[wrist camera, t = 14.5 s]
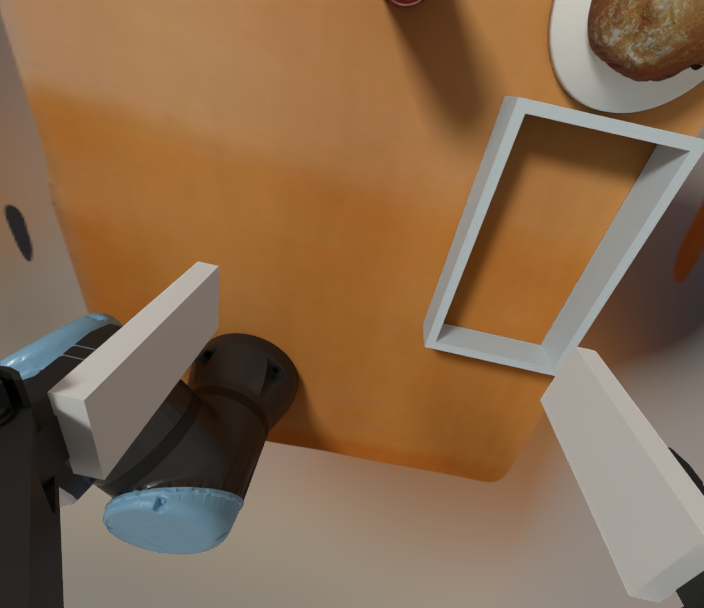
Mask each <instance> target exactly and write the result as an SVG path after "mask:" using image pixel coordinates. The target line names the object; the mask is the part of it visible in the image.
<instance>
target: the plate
mask: <svg viewBox="0 0 704 608" xmlns="http://www.w3.org/2000/svg"><path fill="white" fill-rule="evenodd" d="M591 1H592V0H553V1H552V5H551V10H550V15H549V22H548V51H549V58H550V61H551V65H552V69H553V71H554V73H555V75H556V78H557V80H558V81H559V83H560V84H561V86H562V87H563V89H564V90H565V91H566V92H567V93H568V94H569V95H570V96H571V97H572V98H573V99H575V100H576V101H577V102H579V103H581V104H583V105H584V106H586V107H589V108H592V109H595V110H598V111H605V112H612V113H631V112H639V111H643V110H647V109H651V108H654V107H657V106H660V105H662V104H665V103H667V102H669V101H671V100H673V99H675V98H677V97H679V96H681V95H683V94H684V93H686V92H687V91H689V90H691V89H692V88H694V87H695V86H696V85H698V84H699V83H700V82H701V81H703V80H704V66H703V67H702V68H700V69H699V70H693V69H691V67H690V68H687V69H685V70H683V71H682V72H680V73H679V74H677V75H675V76H674V77H672V78H668V79H665V80H663V81H659V82H657V81H651V80H649V81H646V82H645V81H641V82H637V81H634V80H632V79H630V78H628V77H625V76H623V75H621V74H620V73H618V72H616V71H615V70H613V69H612V68H610V67H609V66H608V65H607V64H606V63H605V62H604V61H601V59H600V58H599V57H598V56H596V55H595V54H594V52H593V51H592V49H591V47H590V44H589V38H588V29H587V21H588V13H589V9H590V5H591Z"/></svg>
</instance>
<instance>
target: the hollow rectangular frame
mask: <svg viewBox="0 0 704 608" xmlns="http://www.w3.org/2000/svg"><path fill="white" fill-rule="evenodd" d="M525 114H529V115H533V116H538V117H542V118H546V119H551V120H555V121H559V122H564V123H568V124H573V125H577V126H581V127H586V128H590V129H595V130H599V131H603V132H608V133H612V134H616V135H621V136H625V137H630V138H634V139H638V140H643V141H647V142H651V143H656V144H657V146H656V147H655V149H654V151H653V153H652V154H651V156H650V158H649V160H648V161H647V163H646V165H645V166H644V168H643V170H642V172H641V173H640V175H639V177H638V178H637V180H636V182H635V184H634V185H633V187H632V189H631V191H630V192H629V194H628V196H627V197H626V199H625V201H624V203H623V204H622V206H621V208H620V209H619V211H618V213H617V215H616V216H615V218H614V220H613V222H612V223H611V225H610V227H609V228H608V230H607V232H606V234H605V235H604V237H603V239H602V240H601V242H600V244H599V246H598V247H597V249H596V251H595V253H594V254H593V256H592V258H591V259H590V261H589V263H588V265H587V266H586V268H585V270H584V271H583V273H582V275H581V277H580V278H579V280H578V282H577V284H576V285H575V287H574V289H573V290H572V292H571V294H570V296H569V297H568V299H567V301H566V302H565V304H564V306H563V308H562V309H561V311H560V313H559V315H558V316H557V318H556V320H555V321H554V323H553V325H552V327H551V328H550V330H549V332H548V333H547V335H546V337H545V339H544V340H543V342H542V344H541V345H538V344H533V343H529V342H524V341H520V340H515V339H511V338H507V337H502V336H498V335H493V334H489V333H484V332H480V331H475V330H471V329H466V328H462V327H458V326H453V325H449V324H444V323H443V322H444V319H445V317H446V314H447V312H448V309H449V307H450V304H451V302H452V299H453V296H454V294H455V291H456V289H457V286H458V284H459V281H460V279H461V276H462V274H463V271H464V268H465V266H466V263H467V261H468V258H469V256H470V253H471V251H472V248H473V245H474V243H475V240H476V238H477V235H478V233H479V230H480V228H481V225H482V222H483V220H484V217H485V215H486V212H487V210H488V207H489V205H490V202H491V199H492V197H493V194H494V192H495V189H496V187H497V184H498V182H499V179H500V177H501V174H502V171H503V169H504V166H505V164H506V161H507V159H508V156H509V154H510V151H511V148H512V146H513V143H514V141H515V138H516V136H517V133H518V131H519V128H520V125H521V123H522V120H523V118H524V115H525ZM703 152H704V139H700V138H696V137H691V136H687V135H682V134H678V133H674V132H669V131H665V130H661V129H656V128H652V127H647V126H643V125H639V124H634V123H630V122H626V121H621V120H617V119H612V118H608V117H604V116H599V115H595V114H591V113H586V112H582V111H578V110H573V109H569V108H564V107H560V106H556V105H551V104H547V103H543V102H538V101H534V100H529V99H525V98H521V97H512V96H505V97H504V100H503V102H502V105H501V108H500V111H499V114H498V116H497V119H496V122H495V125H494V128H493V130H492V133H491V136H490V139H489V142H488V144H487V147H486V150H485V153H484V155H483V158H482V161H481V164H480V167H479V169H478V172H477V175H476V178H475V181H474V183H473V186H472V189H471V192H470V195H469V197H468V200H467V203H466V206H465V209H464V211H463V214H462V217H461V220H460V222H459V225H458V228H457V231H456V234H455V236H454V239H453V242H452V245H451V248H450V250H449V253H448V256H447V259H446V262H445V264H444V267H443V270H442V273H441V276H440V278H439V281H438V284H437V287H436V289H435V292H434V295H433V298H432V301H431V303H430V306H429V309H428V312H427V315H426V317H425V320H424V323H423V335H424V345H425V347H428V348H432V349H437V350H441V351H446V352H450V353H455V354H459V355H464V356H468V357H472V358H477V359H481V360H486V361H490V362H495V363H499V364H504V365H508V366H513V367H517V368H521V369H526V370H530V371H535V372H539V373H544V374H548V375H553V376H556V375H557V373H558V371H559V370H560V368H561V367H562V365H563V364H564V362H565V361H566V359H567V357H568V356H569V354H570V353H571V351H572V350H573V348H574V346H576V347H577V346H578V345H579V343H580V341H581V340H582V338H583V337H584V335H585V334H586V332H587V331H588V329H589V327H590V326H591V325H592V323H593V321H594V320H595V318H596V317H597V315H598V314H599V312H600V311H601V309H602V307H603V306H604V304H605V303H606V301H607V300H608V298H609V297H610V295H611V294H612V292H613V291H614V289H615V287H616V286H617V284H618V283H619V281H620V280H621V278H622V277H623V275H624V274H625V272H626V270H627V269H628V267H629V266H630V264H631V263H632V261H633V259H634V258H635V256H636V255H637V253H638V252H639V250H640V249H641V247H642V245H643V244H644V242H645V241H646V240H647V238H648V236H649V235H650V233H651V232H652V230H653V229H654V227H655V225H656V224H657V222H658V221H659V219H660V218H661V216H662V215H663V213H664V212H665V210H666V209H667V207H668V206H669V204H670V202H671V201H672V199H673V198H674V196H675V195H676V193H677V192H678V190H679V189H680V187H681V185H682V184H683V182H684V181H685V179H686V178H687V176H688V175H689V173H690V172H691V170H692V168H693V167H694V165H695V164H696V162H697V161H698V159H699V158H700V156H701V154H702V153H703Z"/></svg>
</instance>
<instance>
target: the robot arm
mask: <svg viewBox="0 0 704 608" xmlns="http://www.w3.org/2000/svg"><path fill="white" fill-rule="evenodd" d="M218 308H219V266H216V265H212V264H207V263H203V262H197V263H195V264H194V265H193V266H192V267H191V268H190V269H189V270H187V271H186V272H185V273H184V274H183V275H182V276H181V277H179V278H178V279H177V280H176V281H175V282H174V283H172V284H171V285H170V286H169V287H168V288H167V289H166V290H164V291H163V292H162V293H161V294H160V295H159V296H157V297H156V298H155V299H154V300H153V301H152V302H151V303H149V304H148V305H147V306H146V307H145V308H144V309H143V310H141V311H140V312H139V313H138V314H137V315H136V316H134V317H133V318H132V319H131V320H130V321H129V322H128V323H126V324H125V325H124V326H123V325H122V324H121V323H120V322H119V321H118V320H116V319H115V318H114V317H112V316H111V315H108V314H105V313H91V314H88V315H85V316H83V317H81V318H79V319H77V320H75V321H73V322H71V323H69V324H67V325H65V326H64V327H61V328H59V329H58V330H56V331H54V332H52V333H50V334H48V335H47V336H45V337H43V338H41V339H39V340H37V341H35V342H34V343H32V344H30V345H28V346H27V347H25V348H23V349H21V350H19V351H17V352H16V353H14V354H12V355H10V356H9V357H7V358H5V359H4V360H2V361H1V362H0V608H64V602H63V580H62V579H63V578H62V552H61V527H60V507H61V506H66V505H70V504H74V503H75V502H76V501H77V500H78V499H79V498H80V497H81V496H82V495H83V494H84V493H85V492H86V491H87V490H88V489H89V488H90V487H91V486H92V485H93V484H94V485H96V486H97V487H98V488H100V489H101V490H103V491H104V492H105V493H107V494H108V495H110V496H111V497H112V499H111V501H109V502H108V503H107V505H106V507H105V512H104V515H103V522H104V525H106V527H107V529H108V531H109V532H110V533H112V534H113V535H114V536H115V537H117V538H118V539H120V540H122V541H124V542H126V543H128V544H131V545H133V546H137V547H139V548H143V549H146V550H150V551H155V552H159V553H168V554H195V553H200V552H204V551H207V550H210V549H212V548H214V547H216V546H218V545H219V544H220V543H221V542H222V541H224V539H225V538H226V537H227V536H228V534H229V532H230V530H231V528H232V526H233V524H234V522H235V519H236V517H237V515H238V513H239V511H240V510H241V508H242V507H243V503H244V498H245V495H246V493H247V490H248V487H249V484H250V482H251V479H252V476H253V473H254V471H255V468H256V465H257V462H258V460H259V457H260V454H261V451H262V449H263V446H264V443H265V440H266V438H267V435H268V433H269V431H270V430H271V429H272V428H273V427H274V426H275V424H276V423H277V422H278V421H279V420H280V419H281V418H282V416H283V415H284V414H285V413H286V412H287V411H288V409H289V408H290V406H291V405H292V403H293V401H294V398H295V395H296V392H297V388H298V377H297V373H296V370H295V368H294V366H293V364H292V362H291V361H290V359H289V358H288V357H287V356H286V355H285V354H284V353H283V352H282V351H281V350H280V349H279V348H277V347H276V346H275V345H273V344H271V343H270V342H268V341H266V340H264V339H261V338H259V337H256V336H252V335H247V334H238V333H234V334H225V335H221V336H218V337H216V338H214V339H212V340H210V338H211V337H212V336H213V334H214V333H215V332H216V330H217V329H218ZM209 340H210V341H209ZM208 341H209V342H208ZM207 342H208V343H207ZM193 361H194V362H193ZM192 362H193V364H192ZM191 364H192V367H191V372H190V376H189V380H188V385H186V384H185V383H184V382H183V381H182V380H181V379H180V378H181V377H182V376H183V374H184V373H185V372H186V370H187V369H188V368H189V366H190V365H191ZM540 401H541V403H542V405H543V407H544V409H545V412H546V414H547V416H548V418H549V420H550V423H551V425H552V427H553V429H554V432H555V434H556V436H557V438H558V440H559V442H560V445H561V447H562V449H563V451H564V454H565V456H566V458H567V460H568V462H569V464H570V467H571V469H572V471H573V473H574V476H575V478H576V480H577V482H578V484H579V487H580V489H581V491H582V493H583V496H584V498H585V500H586V502H587V504H588V506H589V509H590V511H591V513H592V515H593V518H594V520H595V522H596V524H597V526H598V528H599V531H600V533H601V535H602V537H603V540H604V542H605V544H606V546H607V549H608V551H609V553H610V555H611V557H612V560H613V562H614V564H615V566H616V568H617V571H618V573H619V575H620V577H621V579H622V582H623V584H624V586H625V588H626V590H627V593H628V595H629V596H631V597H635V598H640V599H644V600H649V601H654V602H658V603H660V602H661V601H663V600H664V599H666V598H667V597H668V596H670V595H671V594H673V593H674V592H677V594H678V596H679V597H680V599H681V601H682V603H683V605H684V607H682V608H704V486H703V482H702V481H701V479H700V478H699V477H698V475H697V474H696V473H695V472H694V470H693V469H692V468H691V466H690V465H689V464H688V463H687V462H686V461H685V460H683V459H682V458H681V457H680V456H679V455H678V454H677V453H676V452H675V451H674V450H672V449H671V448H669V447H667V446H666V445H665V443H664V442H663V441H662V439H661V438H660V437H659V435H658V434H657V433H656V431H655V430H654V429H653V427H652V426H651V425H650V424H649V422H648V421H647V419H646V418H645V417H644V415H643V414H642V413H641V411H640V410H639V409H638V407H637V406H636V405H635V403H634V402H633V400H632V399H631V398H630V396H629V395H628V394H627V393H626V391H625V390H624V388H623V387H622V386H621V384H620V383H619V382H618V381H617V379H616V378H615V376H614V375H613V374H612V372H611V371H610V370H609V368H608V367H607V366H606V364H605V363H604V362H603V360H602V359H601V358H600V356H599V355H598V354H597V352H596V351H594V350H590V349H585V348H581V347H576V346H574V348H573V350H572V351H571V353H570V354H569V356H568V357H567V359H566V361H565V362H564V364H563V365H562V367H561V368H560V370H559V371H558V373H557V375H556V376H555V378H554V379H553V381H552V382H551V384H550V385H549V387H548V389H547V390H546V392H545V393H544V395H543V396H542V398H541V399H540Z"/></svg>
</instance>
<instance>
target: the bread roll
mask: <svg viewBox="0 0 704 608" xmlns="http://www.w3.org/2000/svg"><path fill="white" fill-rule="evenodd" d="M587 29H588V38H589V44H590V47H591V49H592V51H593V52H594V54H595V55H596V56H598V57H599V58H600V59H601V61H604V62H605V63H606V64H607V65H608V66H609V67H610V68H612V69H613V70H615V71H616V72H618V73H620V74H621V75H623V76H625V77H628V78H630V79H632V80H634V81H637V82H641V81H645V82H646V81H649V80H651V81H657V82H659V81H663V80H665V79H668V78H672V77H674V76H675V75H677V74H679V73H680V72H682V71H683V70H685V69H687V68H690V67H691V69H693V70H699V69H700V68H702V67H703V66H704V0H592V1H591V5H590V9H589V13H588V21H587Z"/></svg>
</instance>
